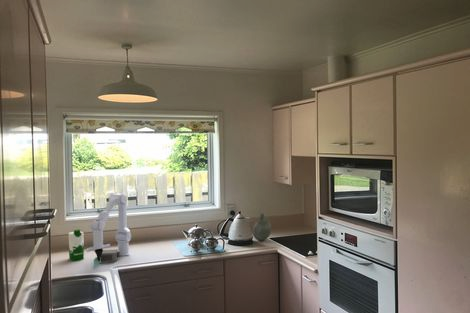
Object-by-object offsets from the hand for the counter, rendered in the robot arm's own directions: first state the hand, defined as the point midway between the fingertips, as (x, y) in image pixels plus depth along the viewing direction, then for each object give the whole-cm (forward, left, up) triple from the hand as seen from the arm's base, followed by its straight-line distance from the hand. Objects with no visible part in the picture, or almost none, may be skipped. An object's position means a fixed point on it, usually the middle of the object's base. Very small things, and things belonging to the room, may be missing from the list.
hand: (98, 260), depth 240 cm
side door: (-2, -1, -3) cm, 4 cm away
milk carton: (-17, -17, -4) cm, 24 cm away
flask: (-38, +118, -4) cm, 124 cm away
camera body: (-10, +5, -3) cm, 12 cm away
